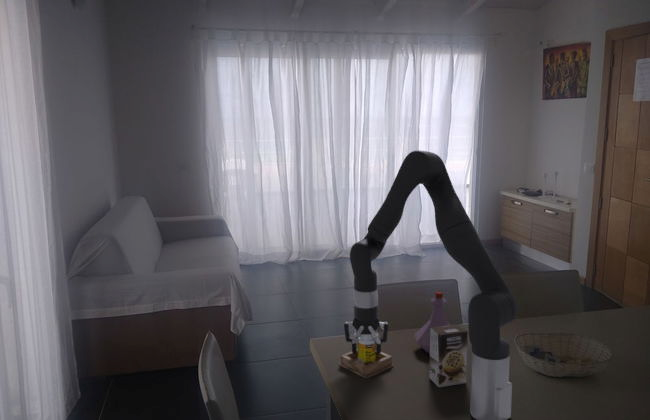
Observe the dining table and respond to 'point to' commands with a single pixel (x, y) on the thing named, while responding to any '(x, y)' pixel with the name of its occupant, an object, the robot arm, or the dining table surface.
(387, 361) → the walnut collar stand
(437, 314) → the flask
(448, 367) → the coffee box
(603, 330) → the dining table surface
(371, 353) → the supplement bottle
